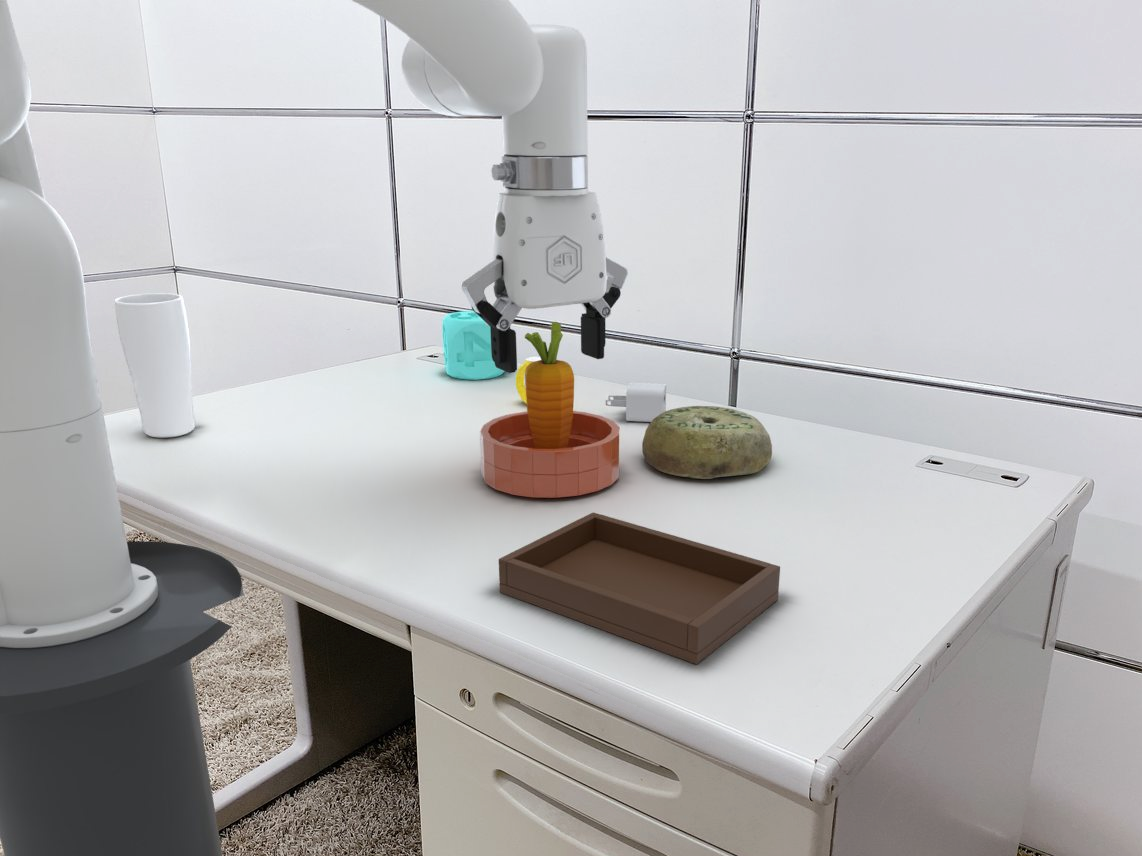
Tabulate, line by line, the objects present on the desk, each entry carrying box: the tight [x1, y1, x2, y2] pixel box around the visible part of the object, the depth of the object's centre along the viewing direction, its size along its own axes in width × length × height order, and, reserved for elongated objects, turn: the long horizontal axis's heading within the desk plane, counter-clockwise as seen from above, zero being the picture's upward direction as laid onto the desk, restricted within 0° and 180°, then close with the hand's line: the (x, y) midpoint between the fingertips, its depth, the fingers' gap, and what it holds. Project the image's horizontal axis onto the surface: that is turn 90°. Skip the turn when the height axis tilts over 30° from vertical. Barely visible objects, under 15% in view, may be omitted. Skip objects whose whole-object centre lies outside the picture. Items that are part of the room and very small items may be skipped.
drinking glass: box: [113, 292, 196, 439], centre depth 107 cm, size 7×7×15 cm
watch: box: [515, 356, 541, 405], centre depth 121 cm, size 6×3×6 cm, turn 58°
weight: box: [641, 405, 773, 480], centre depth 102 cm, size 14×13×5 cm
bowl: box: [479, 410, 621, 499], centre depth 97 cm, size 14×14×5 cm
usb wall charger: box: [605, 382, 667, 423], centre depth 117 cm, size 4×7×4 cm, turn 83°
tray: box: [498, 512, 781, 665], centre depth 73 cm, size 18×12×3 cm, turn 55°
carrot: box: [524, 321, 575, 449], centre depth 95 cm, size 5×5×15 cm
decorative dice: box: [441, 310, 506, 381], centre depth 135 cm, size 8×8×8 cm
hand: (550, 362), depth 94 cm, fingers open, 9 cm apart
